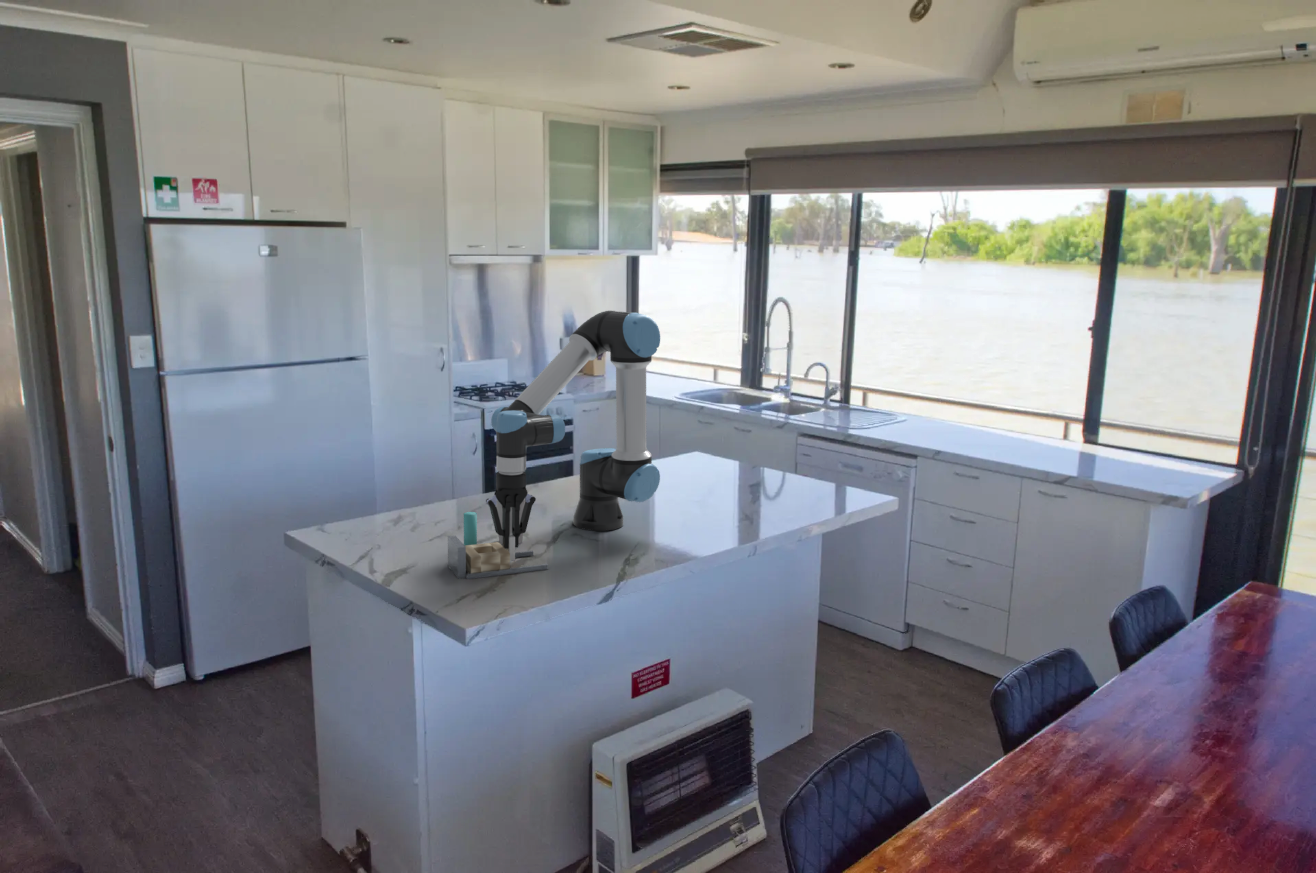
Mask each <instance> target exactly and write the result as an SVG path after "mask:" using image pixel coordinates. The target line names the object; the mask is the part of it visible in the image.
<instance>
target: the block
mask: <svg viewBox="0 0 1316 873" xmlns="http://www.w3.org/2000/svg"><path fill="white" fill-rule="evenodd" d="M465 547H466V573H475V572H483V571H492V570H500V569H508V568H511V562H510V553H509V552H508V551H507V550H506V549H505V548H504V547H503V545H502V544H500V543H499V541H496V542H495V541H494V542H487V543H486V542H485V543H477V544H475V545H466V546H465Z"/></svg>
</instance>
